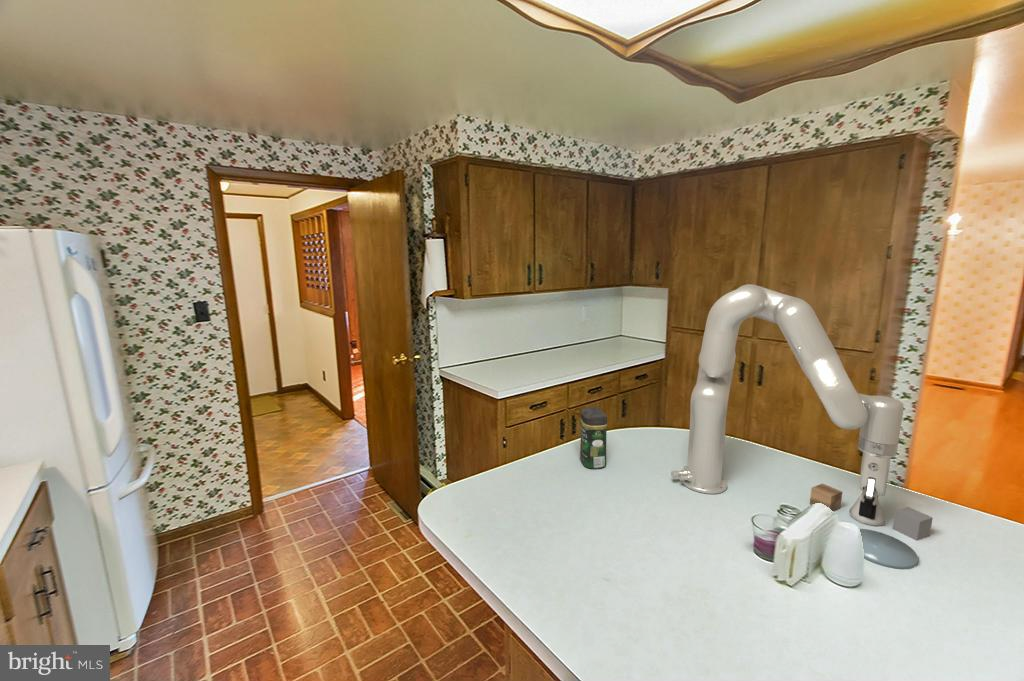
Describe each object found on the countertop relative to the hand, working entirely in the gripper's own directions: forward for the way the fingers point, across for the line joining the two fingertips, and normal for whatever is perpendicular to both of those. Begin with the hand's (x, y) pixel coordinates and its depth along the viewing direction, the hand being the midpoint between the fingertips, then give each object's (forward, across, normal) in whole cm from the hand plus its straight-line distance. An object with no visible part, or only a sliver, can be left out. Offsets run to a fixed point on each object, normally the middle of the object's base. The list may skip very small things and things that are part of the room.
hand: (867, 511), depth 113 cm
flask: (+2, 0, 0) cm, 2 cm away
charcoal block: (+2, 0, -8) cm, 9 cm away
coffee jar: (+2, -19, +70) cm, 72 cm away
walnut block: (+2, 0, +9) cm, 9 cm away
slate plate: (+2, -14, -3) cm, 14 cm away
